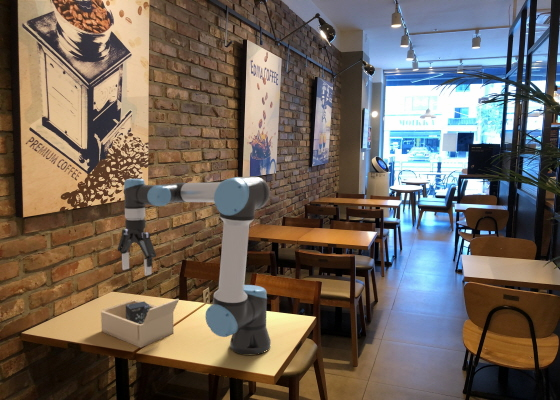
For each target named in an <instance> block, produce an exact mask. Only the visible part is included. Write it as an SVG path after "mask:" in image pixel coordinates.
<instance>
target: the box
mask: <svg viewBox="0 0 560 400" xmlns="http://www.w3.org/2000/svg"><path fill="white" fill-rule="evenodd" d="M147 303H148V302H146V301H145V300H144V301H142V302H139V303H134V304H129V305H126V319H127V320H129V321H132V322H135V323H138V324H140V325H141V324H143V323H144V320H145V318H146V316H147V313H148V311H149V305H148V304H149V303H148V304H147Z"/></svg>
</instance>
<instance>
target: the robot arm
mask: <svg viewBox="0 0 560 400" xmlns="http://www.w3.org/2000/svg"><path fill="white" fill-rule="evenodd" d="M123 185H124V186H123V187H124V188H123V194H124V196H123V198H124V219H125V220H124V225H125V227H124V229H122V230H121V237H120V240H119V243H118V246H117V251H118V252H120V254H121V263H122V265H121V266H122V270H123V271H126V270H129V269H130V252H129V250H130V248H131V246H132V245H133V243H135V244H137V245H138V246H139V247H140V249H141V251H142V253H143V255H144V257H145V258H143V261H144V263H143V264H144V266H143V267H144V276H150V275H152V270H153V269H152V267H153V258H156V256H157V254H156V252H155V251H156V250H155V248H154V245H153V241H152V239H151V234H150V232H149V231H148V232H145V231H144V229H146V226H147V225H146V219H145V218H146V205H147V206H148V205H149V206H154V207H164V206H166V205H168V204H171V203H214V206H215V207H216V210H217V211H218V212H219V218H220V219H221V220H222V222H223V227H222V238H221V252H220V253H221V255H220V265H219V267H220V269H219V278H218V289H217V290H215V292H214V293H213V299H212V304H211V305H210V306H209V307H208V308H207V309H206V312H205V316H204V318H205V321H206V324H207V327H209V329H210V331H211V332H212V333H213V334H214V335H216V336H218V337H222V338H227V337H229V336H231V339H230V343H229V345H230V347H231V348H230V349H232V350H233V352H234V351H235V352H234V353H236V352H237V353H236V354H238V353H240V354H239V355H242V354H258V353H262V352H264V351H266V350H268V349H269V348H270V349H271V346H270V345H271V341H272V340H271V337H270V334H269V331H268V328H267V308H268V306H267V305H268V301H267V300H268V297H267V294H268V293H267V290H266V288H264V287H262V286H260V285H259V286H258V285H253V284H245V278H246V269H247V268H246V267H247V257H248V256H247V255H248V246H249V244H248V243H249V235H250V234H249V231H250V224H251V223H252V222H253V221H254V220H255V215H256V210H259V209H261V208H263V207H265V205H267V203H268V201H269V200H270V196H271V189H270V186H269V184H268V183H267V181H265V179H263V178H261V177H259V176H251V175H250V176H238V177H236V176H234V177H231V178H227V179H225V180H222V181H221V182H220V181H219V182H218V181H216V182H187V183H186V182H175V183H164V184H153V185H152V184H146V183H145V179H143V178H127V179H125V180H124V184H123ZM270 349H269V350H270ZM232 350H231V351H232ZM269 350H268V351H269ZM266 352H267V351H266ZM264 353H265V352H264ZM262 354H263V353H262ZM258 355H259V354H258Z"/></svg>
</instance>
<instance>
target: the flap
mask: <svg viewBox="0 0 560 400" xmlns="http://www.w3.org/2000/svg"><path fill="white" fill-rule="evenodd" d="M179 301H180V300H179V298H176V299H174V300H170V301H168V302H165V303H163V304H159V305H156V306H157V307H154V308H151V309H149V311H148V313H147V316H146V318H145V320H144V324H145V323H148V322H150V321H153V320H155V319H158V318H161V317H163V316H166V315H168V314H171V313H173V314H174V312H175V309H176V308H177V305H178V303H179Z"/></svg>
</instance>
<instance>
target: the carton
mask: <svg viewBox="0 0 560 400" xmlns="http://www.w3.org/2000/svg"><path fill="white" fill-rule="evenodd" d="M139 302H143V301H141V300H139V299H134V300H128V301H126V302H125V301H124V302H122V303H119V304H116V305H112V306H109V307H107V308H103V309H102V310H101V311H100V316H101V317H100V319H101V320H100V321H101V333H104V334H106V335H108V336H111V337H114V338H116V339H119V340H121V341H123V342H126V343H128V344H131V345H132V346H136V347H138V348H143V347H145V346H146V347H147V346H148V345H150V344H152V343H153V344H154V342H157V341H159V340H161V339H164V338H167V337H168V336H170V335H173V334H174V332H175V331H174V312H173V313H171V314H168V315H166V316H163V317H161V318H158V319H155V320H153V321H150V322H148V323H145V324H144V323H143V324H141V325H140V324H138V323H135V322H132V321H129V320H127V319H126V305H129V304H134V303H139ZM146 303H147V304H148V305H149V309H151V308H154V307H157V306H158V305H155V304H154V305H153V304H151V303H148V302H146Z"/></svg>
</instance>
